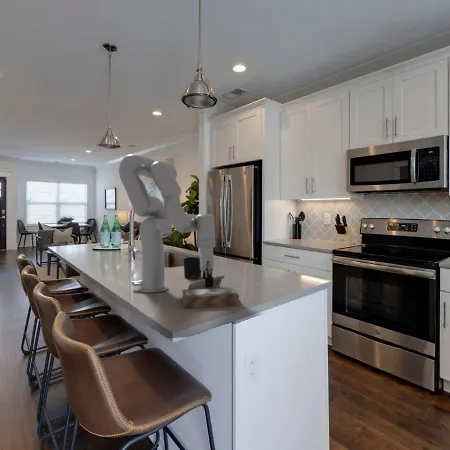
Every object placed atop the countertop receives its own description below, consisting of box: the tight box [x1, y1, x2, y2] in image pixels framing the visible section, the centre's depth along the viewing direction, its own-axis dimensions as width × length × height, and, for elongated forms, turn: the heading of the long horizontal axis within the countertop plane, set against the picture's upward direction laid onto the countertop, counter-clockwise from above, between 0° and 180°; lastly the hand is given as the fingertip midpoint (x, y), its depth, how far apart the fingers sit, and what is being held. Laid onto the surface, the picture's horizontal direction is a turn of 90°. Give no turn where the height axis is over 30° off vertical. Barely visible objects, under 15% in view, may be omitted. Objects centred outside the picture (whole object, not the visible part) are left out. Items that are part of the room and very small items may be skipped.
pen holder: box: [183, 256, 202, 280], centre depth 163 cm, size 9×9×10 cm
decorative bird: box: [187, 274, 225, 289], centre depth 131 cm, size 5×16×8 cm, turn 112°
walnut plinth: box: [182, 287, 240, 309], centre depth 118 cm, size 20×11×4 cm, turn 100°
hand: (207, 284), depth 131 cm, fingers open, 9 cm apart
